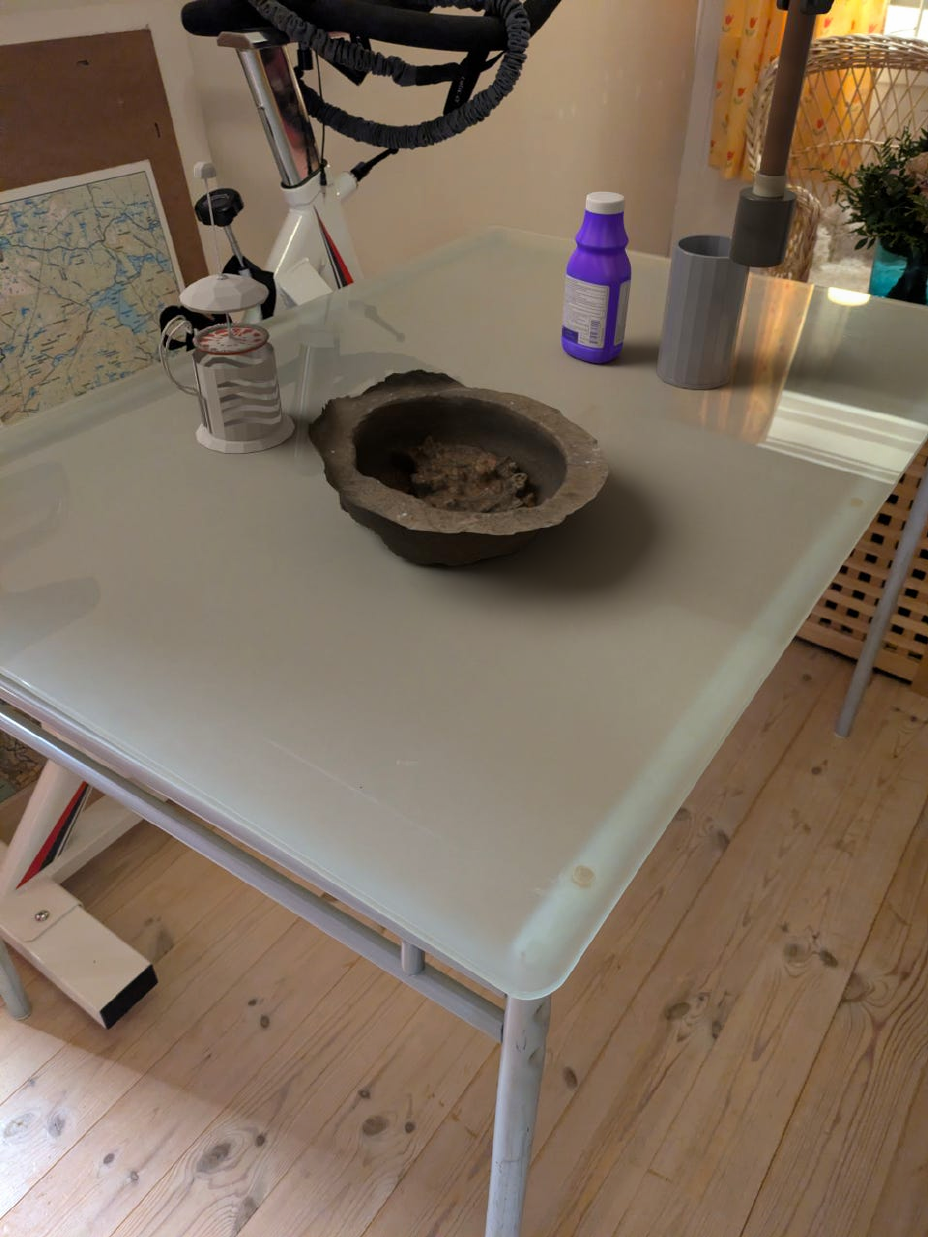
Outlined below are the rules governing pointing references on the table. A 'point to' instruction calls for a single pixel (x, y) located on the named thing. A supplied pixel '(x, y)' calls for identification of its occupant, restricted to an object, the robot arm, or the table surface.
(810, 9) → the robot arm
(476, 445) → the stone bowl
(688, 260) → the cylindrical container
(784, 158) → the brush
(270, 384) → the french press
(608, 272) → the bottle
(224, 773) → the table surface
